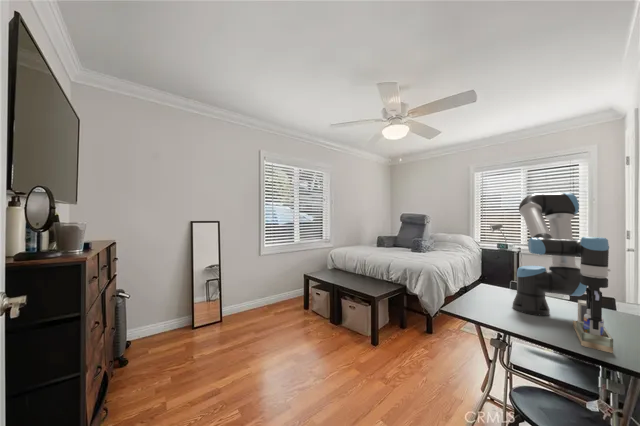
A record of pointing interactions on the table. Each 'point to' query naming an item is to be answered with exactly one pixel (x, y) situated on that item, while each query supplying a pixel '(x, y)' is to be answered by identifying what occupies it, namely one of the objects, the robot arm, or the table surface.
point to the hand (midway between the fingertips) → (593, 334)
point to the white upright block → (581, 310)
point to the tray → (594, 338)
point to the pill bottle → (587, 323)
